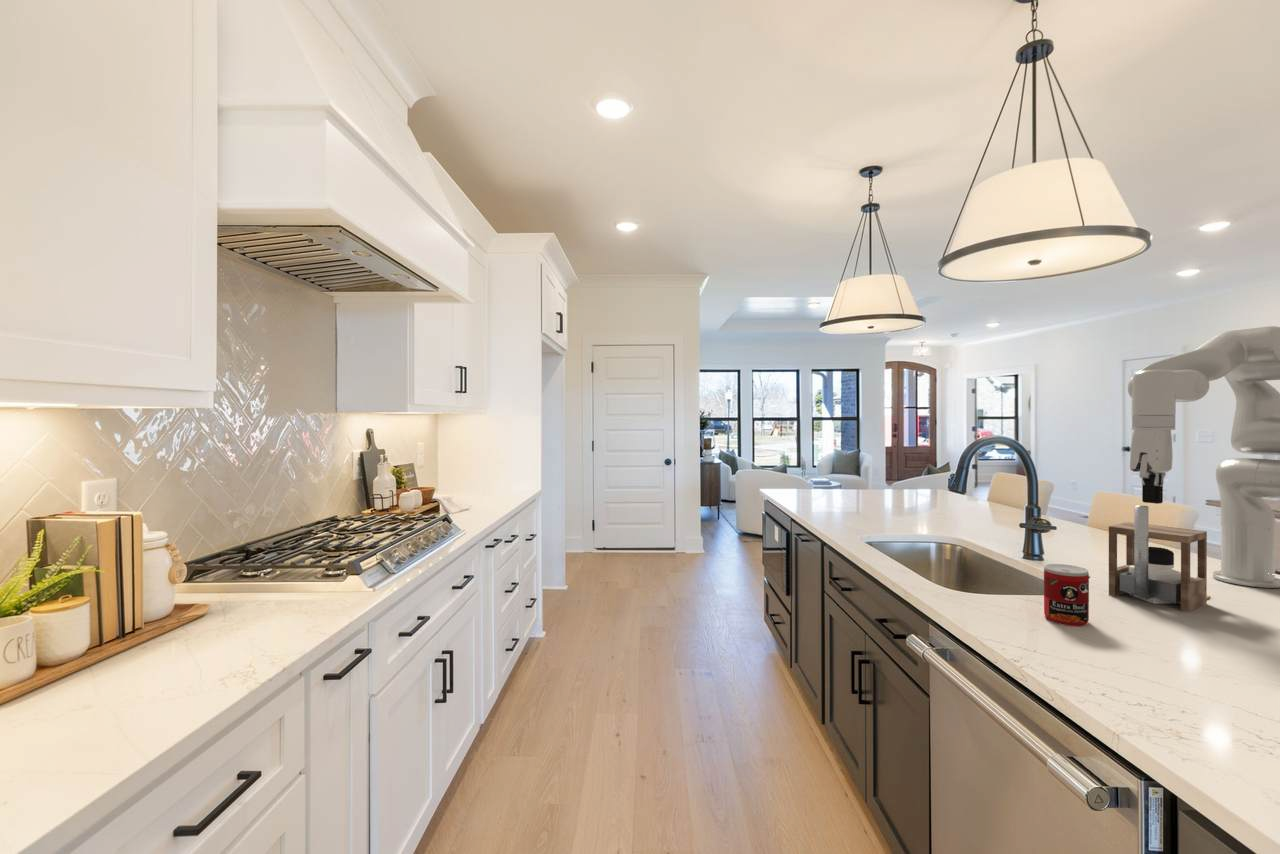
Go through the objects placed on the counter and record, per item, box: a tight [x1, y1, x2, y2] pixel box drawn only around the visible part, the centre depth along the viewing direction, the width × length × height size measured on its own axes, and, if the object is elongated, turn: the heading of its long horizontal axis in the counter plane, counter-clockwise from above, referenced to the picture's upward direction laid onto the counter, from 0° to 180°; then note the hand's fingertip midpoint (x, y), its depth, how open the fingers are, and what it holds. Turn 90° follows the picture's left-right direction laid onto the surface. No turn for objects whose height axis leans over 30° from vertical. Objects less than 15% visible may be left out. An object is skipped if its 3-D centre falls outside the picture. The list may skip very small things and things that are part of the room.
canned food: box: [1043, 563, 1090, 627], centre depth 122 cm, size 8×8×11 cm
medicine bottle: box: [1128, 546, 1181, 605], centre depth 134 cm, size 7×7×12 cm
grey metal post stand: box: [1120, 504, 1195, 602], centre depth 133 cm, size 14×10×21 cm
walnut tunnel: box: [1108, 521, 1208, 613], centre depth 134 cm, size 11×14×16 cm
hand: (1152, 502), depth 133 cm, fingers closed
